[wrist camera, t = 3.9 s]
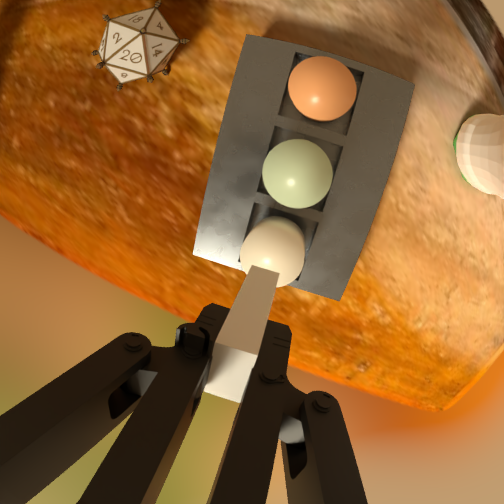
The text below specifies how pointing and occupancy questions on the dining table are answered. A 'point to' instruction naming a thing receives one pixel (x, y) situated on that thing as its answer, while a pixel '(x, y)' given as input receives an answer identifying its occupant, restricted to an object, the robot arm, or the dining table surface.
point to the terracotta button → (322, 88)
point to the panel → (321, 133)
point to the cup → (482, 152)
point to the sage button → (297, 173)
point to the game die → (137, 45)
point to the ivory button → (275, 248)
